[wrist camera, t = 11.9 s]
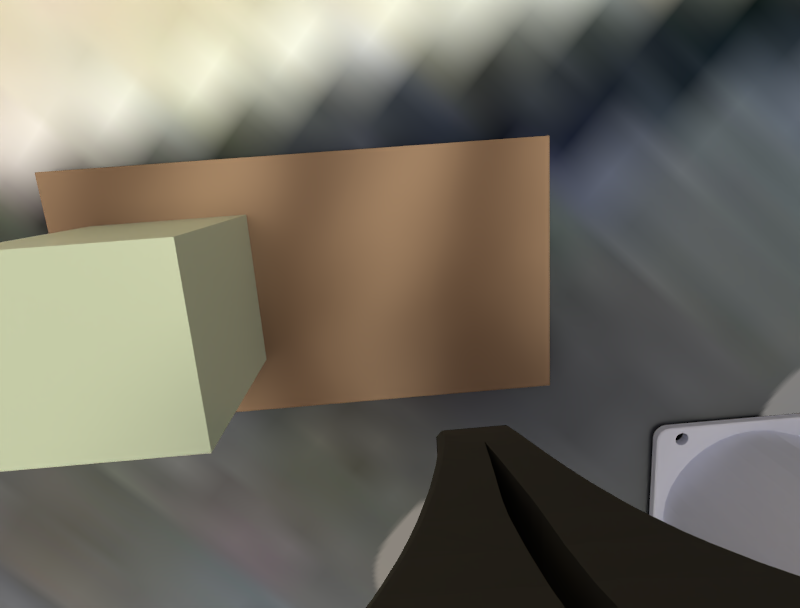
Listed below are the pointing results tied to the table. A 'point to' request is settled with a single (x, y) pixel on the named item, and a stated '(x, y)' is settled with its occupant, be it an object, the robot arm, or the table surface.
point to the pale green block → (125, 341)
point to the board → (365, 260)
